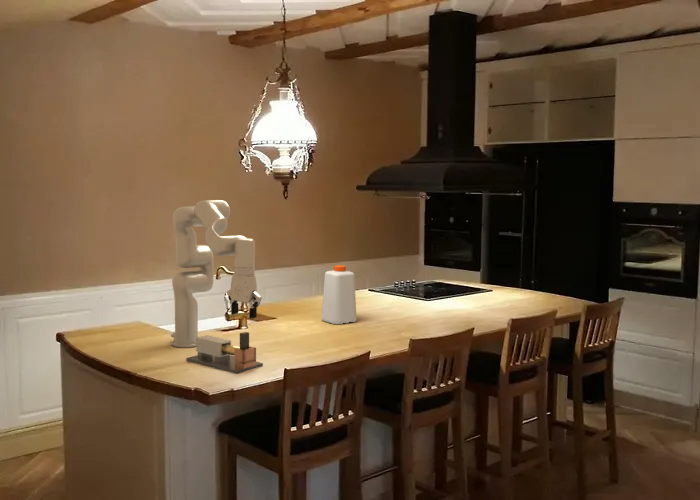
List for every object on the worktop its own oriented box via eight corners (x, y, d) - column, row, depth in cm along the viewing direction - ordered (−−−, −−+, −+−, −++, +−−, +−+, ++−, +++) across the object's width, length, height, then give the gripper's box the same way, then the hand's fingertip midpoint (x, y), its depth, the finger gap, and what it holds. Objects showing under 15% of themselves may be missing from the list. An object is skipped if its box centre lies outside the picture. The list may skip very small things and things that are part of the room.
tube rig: (186, 360, 288) (186, 338, 287) (213, 354, 300) (213, 333, 299) (236, 373, 272) (236, 350, 271) (262, 366, 283) (263, 343, 282)
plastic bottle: (359, 322, 367) (360, 266, 364) (334, 325, 359) (335, 268, 355) (343, 317, 379) (343, 263, 376) (318, 320, 371) (318, 265, 368)
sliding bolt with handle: (212, 351, 286) (212, 327, 285) (219, 350, 289) (219, 326, 288) (243, 359, 276) (243, 334, 275) (250, 357, 279) (250, 332, 278)
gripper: (221, 269, 277) (220, 313, 279) (253, 275, 267) (253, 321, 269) (235, 267, 283) (234, 310, 285) (268, 273, 273) (267, 318, 275)
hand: (243, 315), depth 277 cm, fingers open, 9 cm apart
